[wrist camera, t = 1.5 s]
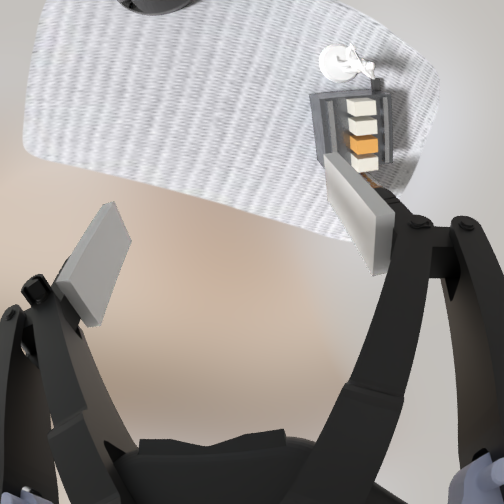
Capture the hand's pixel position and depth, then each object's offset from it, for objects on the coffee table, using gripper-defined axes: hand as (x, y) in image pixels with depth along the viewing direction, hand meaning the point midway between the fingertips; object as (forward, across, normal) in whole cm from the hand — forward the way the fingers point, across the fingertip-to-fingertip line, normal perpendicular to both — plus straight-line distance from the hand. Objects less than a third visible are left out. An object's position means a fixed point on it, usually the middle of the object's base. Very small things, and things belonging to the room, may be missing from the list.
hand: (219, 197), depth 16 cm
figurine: (+36, +20, +4) cm, 42 cm away
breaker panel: (+36, +20, -7) cm, 42 cm away
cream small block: (+30, +20, -12) cm, 38 cm away
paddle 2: (+30, +20, -6) cm, 36 cm away
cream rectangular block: (+30, +20, -3) cm, 36 cm away
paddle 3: (+30, +20, -9) cm, 37 cm away
